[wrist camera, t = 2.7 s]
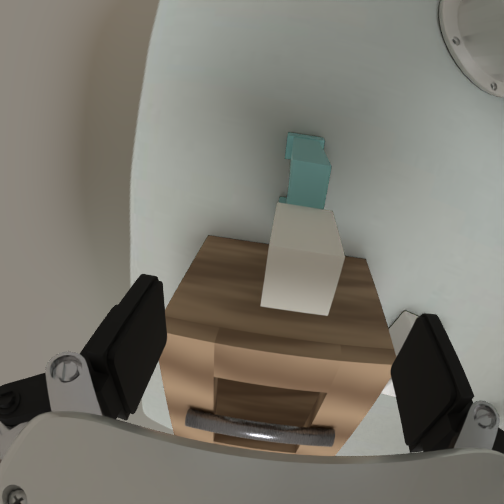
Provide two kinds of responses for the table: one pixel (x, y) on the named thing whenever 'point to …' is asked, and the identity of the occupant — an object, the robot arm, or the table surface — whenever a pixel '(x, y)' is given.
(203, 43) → the table surface
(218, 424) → the hook rod
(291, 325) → the wooden frame
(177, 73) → the table surface
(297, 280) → the cream and teal piece
